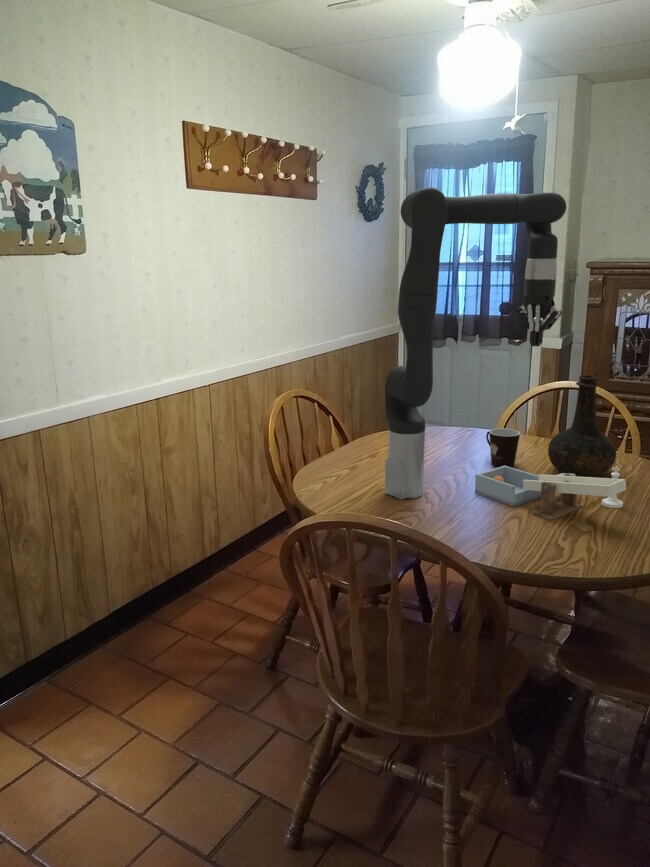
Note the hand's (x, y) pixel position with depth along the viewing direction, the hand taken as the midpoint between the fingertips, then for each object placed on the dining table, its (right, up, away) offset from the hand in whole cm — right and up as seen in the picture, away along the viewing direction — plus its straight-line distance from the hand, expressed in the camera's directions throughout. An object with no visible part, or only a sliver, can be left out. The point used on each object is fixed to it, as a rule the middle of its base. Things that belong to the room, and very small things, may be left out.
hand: (535, 345), depth 172 cm
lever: (+7, -35, -13) cm, 38 cm away
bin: (-7, -38, 0) cm, 39 cm away
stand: (+2, -41, -11) cm, 43 cm away
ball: (-9, -35, +2) cm, 37 cm away
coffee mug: (-2, -32, +25) cm, 40 cm away
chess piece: (+17, -40, -7) cm, 44 cm away
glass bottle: (+17, -34, +15) cm, 41 cm away
